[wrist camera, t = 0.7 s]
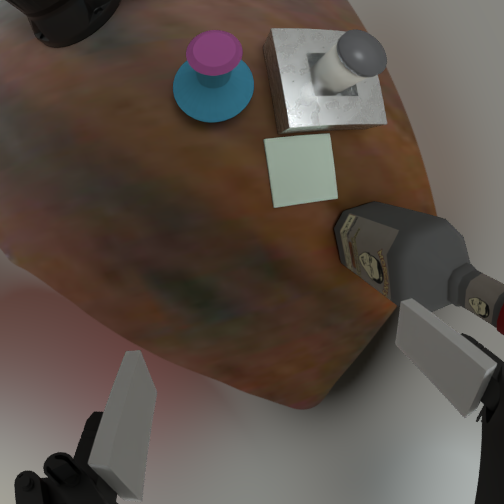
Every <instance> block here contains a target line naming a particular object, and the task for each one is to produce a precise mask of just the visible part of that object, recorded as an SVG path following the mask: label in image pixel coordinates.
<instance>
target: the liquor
mask: <svg viewBox="0 0 504 504" xmlns="http://www.w3.org/2000/svg"><path fill="white" fill-rule="evenodd" d="M334 231H335V235H336V240H337V245H338V250H339V254H340V260H341V263H342V264H343V265H345V266H346V267H347V268H349V269H350V270H351V271H353V272H354V273H355V274H357V275H358V276H359V277H361V278H362V279H363V280H365V281H366V282H367V283H369V284H370V285H371V286H373V287H374V288H375V289H377V290H378V291H379V292H381V293H382V294H383V295H384V296H386V297H387V298H388V299H390V300H391V301H392V302H393V303H395V304H396V305H397V306H399V307H400V304H401V301H404V300H407V299H411V298H412V299H414V300H415V301H416V302H418V303H419V304H421V305H422V306H423V307H425V308H426V309H427V310H429V311H430V312H433V311H436V310H438V309H440V308H443V307H445V306H447V305H449V304H454V305H455V306H462V307H464V308H465V309H467V310H469V311H471V312H472V313H474V314H476V315H477V316H479V317H480V318H482V319H483V320H485V321H486V322H488V323H490V324H491V325H493V326H494V327H496V328H497V331H499V332H500V333H501V334H503V335H504V284H503V283H501V282H499V281H497V280H495V279H493V278H490V277H489V276H487V275H485V274H483V273H481V272H479V271H477V270H476V269H475V268H474V267H473V266H472V264H470V260H469V256H468V252H467V248H466V244H465V241H464V237H463V236H462V235H461V234H460V233H459V232H458V231H457V230H456V229H455V228H454V227H453V226H452V225H451V224H450V223H449V222H448V221H447V220H446V219H443V218H440V217H436V216H433V215H429V214H425V213H421V212H417V211H413V210H409V209H405V208H401V207H397V206H393V205H388V204H384V203H380V202H375V201H374V202H371V203H368V204H364V205H361V206H358V207H355V208H352V209H348V210H345V211H343V213H342V214H341V216H340V218H339V220H338V222H337V224H336V226H335V227H334Z"/></svg>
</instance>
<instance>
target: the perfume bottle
mask: <svg viewBox="0 0 504 504" xmlns="http://www.w3.org/2000/svg"><path fill="white" fill-rule="evenodd" d="M186 57H187V61H186V62H185V63H183V65H182V66H181V67H180V68H179V70H178V72H177V73H176V75H175V79H174V82H173V93H174V97H175V100H176V102H177V104H178V105H179V107H180V108H181V109H182V110H183V111H184V112H185V113H186V114H187V115H189V116H190V117H192V118H194V119H196V120H199V121H202V122H209V123H210V122H221V121H225V120H228V119H230V118H232V117H234V116H236V115H237V114H239V113H240V112H241V111H242V110H243V109H244V108H245V107H246V106H247V104H248V103H249V101H250V99H251V97H252V95H253V90H254V80H253V76H252V73H251V71H250V69H249V67H248V66H247V65H246V64H245V62H243V61H242V60H241V58H242V46H241V44H240V42H239V40H238V39H237V38H236V37H235V36H233V35H232V34H230V33H228V32H225V31H220V30H211V31H206V32H203V33H201V34H199V35H197V36H196V37H195V38H193V39H192V41H191V42H190V43H189V45H188V47H187V50H186Z"/></svg>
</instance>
